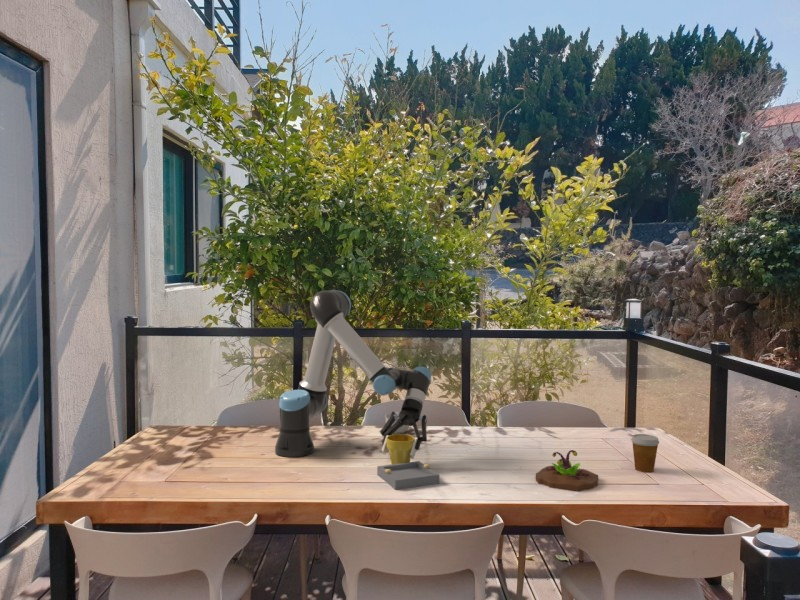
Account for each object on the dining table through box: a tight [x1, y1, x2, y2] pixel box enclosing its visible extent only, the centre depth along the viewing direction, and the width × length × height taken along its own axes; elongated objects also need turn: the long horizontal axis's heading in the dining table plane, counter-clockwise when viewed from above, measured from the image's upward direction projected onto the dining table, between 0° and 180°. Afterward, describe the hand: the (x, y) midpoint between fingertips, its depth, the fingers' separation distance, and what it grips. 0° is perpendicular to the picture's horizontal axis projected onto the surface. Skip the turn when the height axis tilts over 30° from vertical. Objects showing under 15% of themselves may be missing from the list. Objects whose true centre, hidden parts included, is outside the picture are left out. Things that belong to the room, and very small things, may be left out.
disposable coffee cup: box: [630, 433, 660, 473], centre depth 221 cm, size 10×10×12 cm
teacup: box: [384, 411, 410, 435], centre depth 273 cm, size 14×11×8 cm
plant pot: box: [386, 433, 416, 465], centre depth 222 cm, size 10×10×10 cm
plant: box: [535, 449, 599, 492], centre depth 209 cm, size 20×20×11 cm
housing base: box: [376, 460, 440, 490], centre depth 209 cm, size 16×16×4 cm
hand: (397, 454), depth 219 cm, fingers closed on plant pot, 10 cm apart
